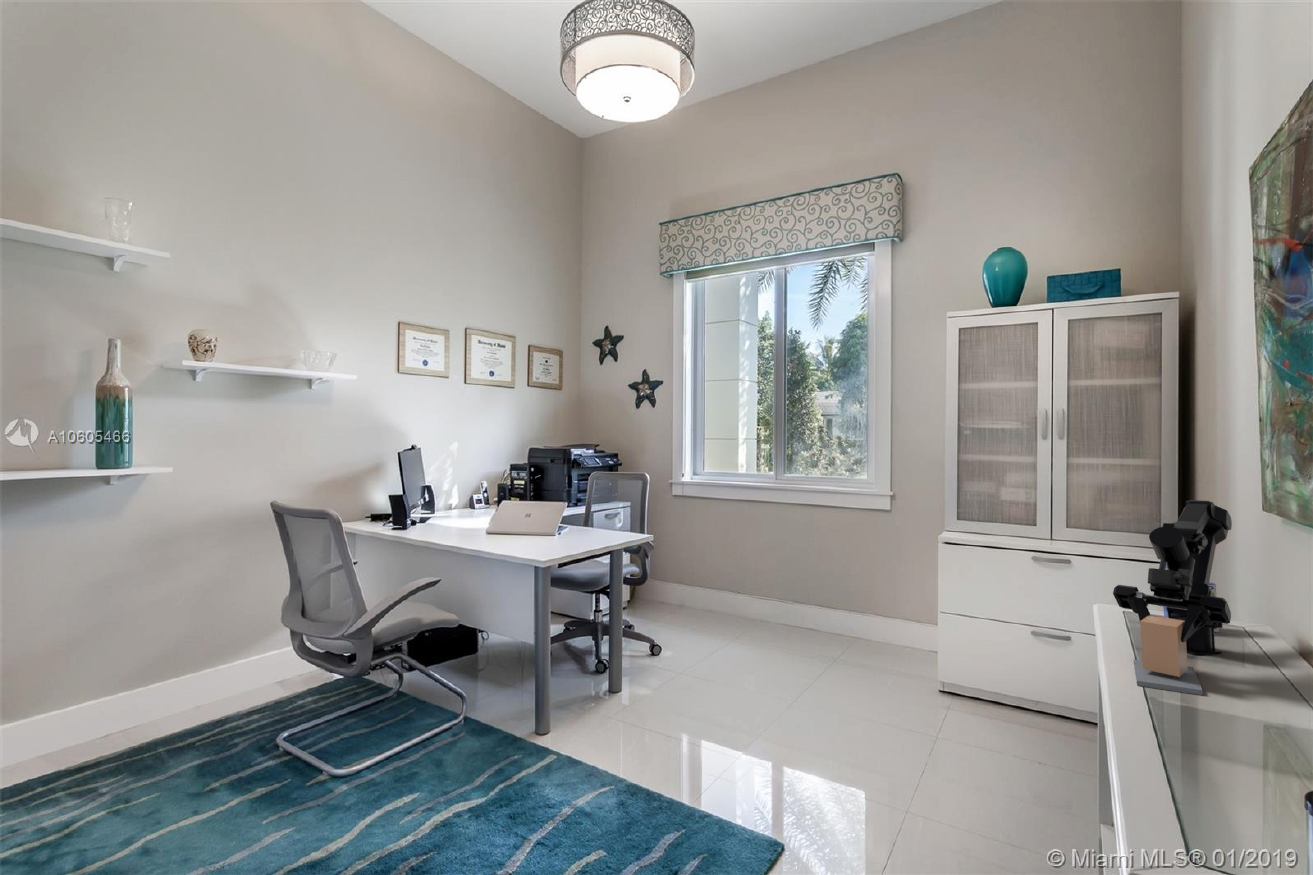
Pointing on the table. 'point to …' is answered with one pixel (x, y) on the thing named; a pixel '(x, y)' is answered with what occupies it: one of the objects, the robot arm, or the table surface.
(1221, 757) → the table surface
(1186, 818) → the table surface
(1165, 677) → the post board
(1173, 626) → the cover box
